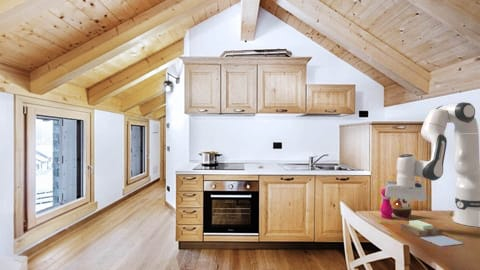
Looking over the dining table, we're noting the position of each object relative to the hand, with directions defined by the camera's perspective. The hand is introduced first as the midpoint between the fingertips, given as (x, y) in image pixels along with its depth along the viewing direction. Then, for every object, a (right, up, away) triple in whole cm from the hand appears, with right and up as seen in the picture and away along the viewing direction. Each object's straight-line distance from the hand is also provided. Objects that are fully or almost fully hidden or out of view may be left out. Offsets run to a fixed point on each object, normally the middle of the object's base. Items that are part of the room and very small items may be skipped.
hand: (404, 206), depth 155 cm
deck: (+3, -11, -10) cm, 15 cm away
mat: (+5, -11, -22) cm, 25 cm away
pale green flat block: (+3, -8, -10) cm, 13 cm away
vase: (+10, -12, +21) cm, 26 cm away
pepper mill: (-1, -12, +17) cm, 21 cm away
